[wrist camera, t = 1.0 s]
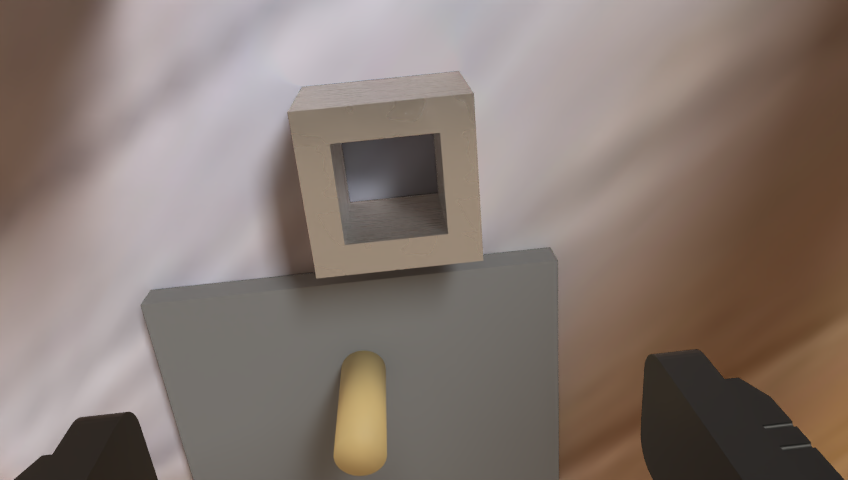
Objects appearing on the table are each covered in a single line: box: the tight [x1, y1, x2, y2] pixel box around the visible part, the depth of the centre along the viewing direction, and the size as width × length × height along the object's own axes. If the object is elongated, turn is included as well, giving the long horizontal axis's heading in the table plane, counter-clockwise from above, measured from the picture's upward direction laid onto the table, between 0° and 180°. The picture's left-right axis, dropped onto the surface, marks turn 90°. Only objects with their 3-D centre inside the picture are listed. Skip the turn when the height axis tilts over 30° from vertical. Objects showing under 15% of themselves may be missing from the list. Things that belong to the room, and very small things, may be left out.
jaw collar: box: [287, 71, 483, 279], centre depth 23 cm, size 6×6×4 cm
